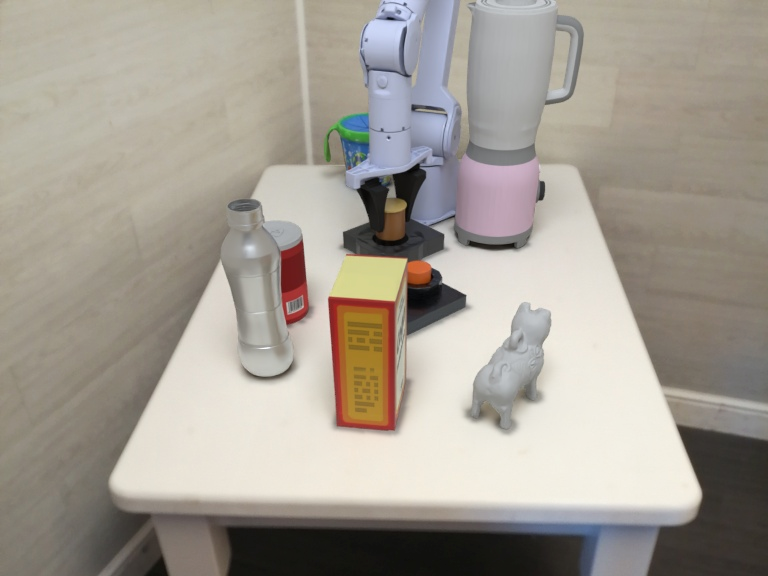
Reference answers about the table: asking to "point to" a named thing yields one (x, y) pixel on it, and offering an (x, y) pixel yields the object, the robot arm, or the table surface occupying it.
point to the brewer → (431, 302)
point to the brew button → (418, 272)
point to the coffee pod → (393, 220)
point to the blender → (509, 115)
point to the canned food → (291, 268)
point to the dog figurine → (513, 364)
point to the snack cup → (353, 141)
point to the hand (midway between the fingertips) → (390, 224)
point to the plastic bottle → (256, 290)
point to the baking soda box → (369, 340)
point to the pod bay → (395, 242)
